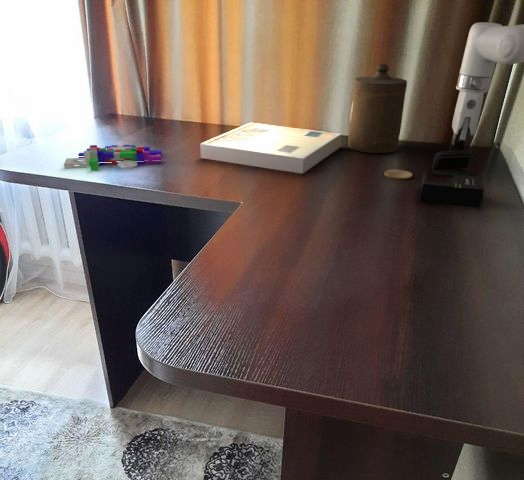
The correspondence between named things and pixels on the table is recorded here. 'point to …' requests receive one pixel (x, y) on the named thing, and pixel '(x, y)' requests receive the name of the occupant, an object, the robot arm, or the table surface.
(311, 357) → the table surface
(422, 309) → the table surface
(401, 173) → the coaster
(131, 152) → the building block set
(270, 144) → the flat white box
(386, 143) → the wooden container
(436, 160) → the webcam
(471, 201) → the battery charger
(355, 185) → the table surface
